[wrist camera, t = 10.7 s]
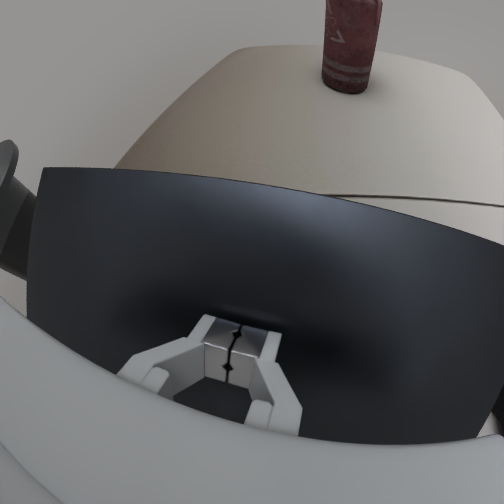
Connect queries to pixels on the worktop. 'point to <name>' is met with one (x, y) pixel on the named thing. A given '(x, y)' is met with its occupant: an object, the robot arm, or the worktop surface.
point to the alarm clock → (499, 406)
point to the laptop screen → (277, 296)
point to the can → (350, 43)
